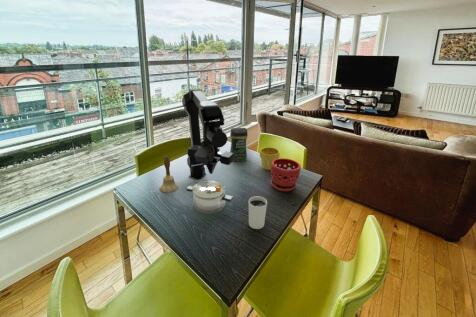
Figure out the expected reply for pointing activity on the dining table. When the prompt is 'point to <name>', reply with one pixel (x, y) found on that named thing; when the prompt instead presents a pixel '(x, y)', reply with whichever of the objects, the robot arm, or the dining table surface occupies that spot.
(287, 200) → the dining table surface
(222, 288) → the dining table surface
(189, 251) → the dining table surface
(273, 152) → the plant pot
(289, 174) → the plant pot
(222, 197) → the cooker pot
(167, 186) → the hand bell
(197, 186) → the cooker lid
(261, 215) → the white cup
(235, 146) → the coffee jar
